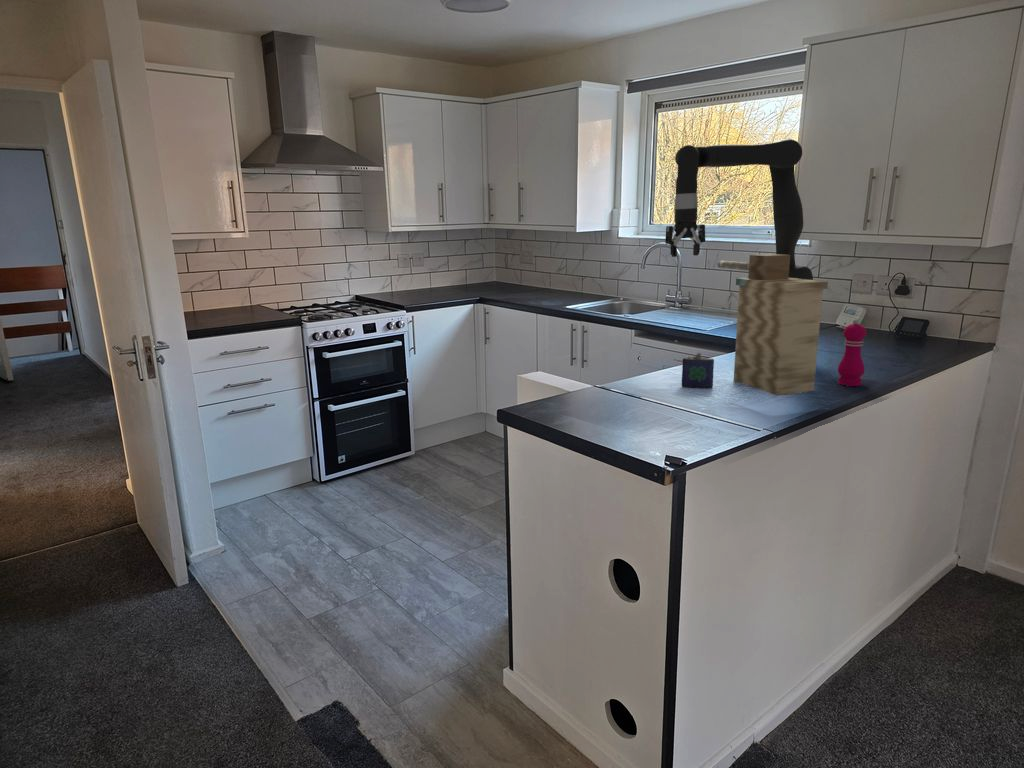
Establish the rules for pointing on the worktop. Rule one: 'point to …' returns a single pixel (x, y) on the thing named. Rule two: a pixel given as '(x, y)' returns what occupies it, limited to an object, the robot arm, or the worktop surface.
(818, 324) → the stand
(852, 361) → the pepper mill
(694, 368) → the flask
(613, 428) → the worktop surface
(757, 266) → the wooden mallet
